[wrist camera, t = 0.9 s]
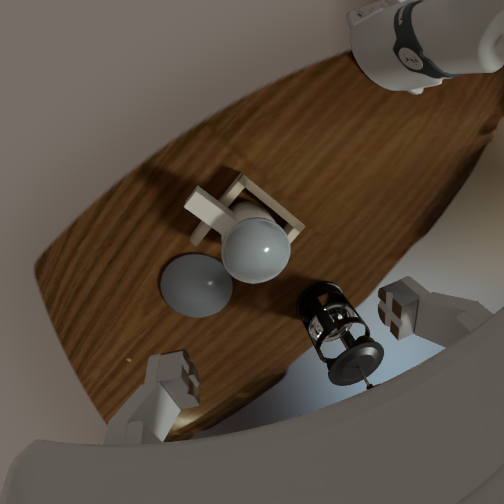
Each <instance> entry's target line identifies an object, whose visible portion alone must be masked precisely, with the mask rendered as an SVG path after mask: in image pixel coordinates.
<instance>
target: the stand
mask: <svg viewBox="0 0 504 504" xmlns="http://www.w3.org/2000/svg"><path fill="white" fill-rule="evenodd" d="M244 187H245V188H246V189H248V190H249V191H250V192H251V193H253V194H254V195H255V196H256V197H258V198H259V199H260V200H261V201H263V202H264V203H265V204H266V205H268V206H269V207H270V208H271V209H272V210H274V211H275V212H276V213H277V214H278V215H280V216H281V217H282V218H283V219H284V220H286V221H287V222H288V223H287V224H286V226H285V227H284V228H283V230H284V232H285V233H286V235H287V237H288V239H289V242H290V243H291V242H292V241H293V240H294V239H295V238H296V236H297V235H298V234H299V233H300V232H301V231H302V230H303V229H304V227H305V226H304V225H303V224H302V223H301V222H300V221H299V220H298V219H297V218H296V217H295V216H294V215H292V214H291V213H290V212H289V211H288V210H287V209H285V208H284V207H283V206H282V205H281V204H279V203H278V202H277V201H276V200H275V199H274V198H272V197H271V196H270V195H269V194H268V193H266V192H265V191H264V190H263V189H261V188H260V187H259V186H258V185H257V184H255V183H254V182H253V181H252V180H250V179H249V178H248V177H247V176H245V175H244V174H243V173H242V172H241V173H240V174H239V176H238V177H237V178H236V179H235V180H234V182H233V183H232V184H231V185H230V186H229V188H228V189H227V190H226V191H225V192H224V194H223V195H222V196H221V197H220V199H219V200H218V201H219V202H220V203H222V204H223V205H224V206H226V207H227V208H228V207H229V205H230V204H231V203H232V202H233V201H234V199H235V198H236V197H237V196H238V195H239V193H240V192H241V191H242V190H243V189H244ZM211 228H212V227H211V226H209V225H208V224H206V223H205V222H204V221H201V222H200V224H199V225H198V226H197V228H196V229H195V230H194V231H193V233H192V234H191V239H190V242H191V243H193V244H194V245H196V246H197V245H198V244H199V243H200V241H201V240H202V239H203V238H204V236H205V235H206V234H207V233H208V231H209V230H210V229H211ZM252 284H254V283H252Z"/></svg>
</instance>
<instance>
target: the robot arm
mask: <svg viewBox="0 0 504 504" xmlns="http://www.w3.org/2000/svg"><path fill="white" fill-rule="evenodd" d="M357 14H358V15H359V16H360V17H359V16H358V15H357ZM346 17H347V21H348V23H349V26H350V28H351V48H352V52H353V54H354V57H355V59H356V61H357V63H358V65H359V66H360V68H361V69H362V70H363V72H364V73H365V74H366V75H367V76H368V77H369V78H370V79H371V80H372V81H373V82H375V83H376V84H378V85H379V86H381V87H383V88H386V89H389V90H394V91H400V90H405V91H408V92H410V93H412V94H415V95H417V94H421V93H422V91H423V89H424V88H425V87H430V86H435V85H439V84H441V83H442V80H443V79H449V78H453V77H457V76H459V75H461V74H464V73H492V72H495V71H497V70H498V69H500V68H501V67H502V66H503V65H504V0H425V1H417V0H407V1H406V0H380V1H377V2H375V3H371V4H369V5H366V6H363V7H361V8H359V9H356V10H353V11H351V12H349V13H347V16H346ZM378 297H379V298H380V299H381V301H380V302H379V304H378V313H379V317H380V319H381V321H382V322H383V323H384V325H387V326H389V327H390V332H391V333H392V334H393V335H394V336H395V338H396V339H397V340H401V339H402V338H405V337H407V336H409V335H411V334H413V333H414V334H415V335H417V336H420V337H422V338H425V339H427V340H429V341H432V342H434V343H436V344H439V345H441V346H444V347H446V348H445V349H444V350H442V351H441V352H439V353H438V354H436V355H434V356H433V357H431V358H429V359H427V360H426V361H424V362H422V363H420V364H419V365H417V366H415V367H413V368H411V369H409V370H407V371H406V372H404V373H402V374H400V375H398V376H396V377H394V378H392V379H390V380H388V381H386V382H384V383H382V384H379V385H377V386H375V387H373V388H371V389H368V390H367V391H364V392H362V393H359V394H357V395H355V396H352V397H350V398H347V399H345V400H342V401H340V402H337V403H334V404H332V405H329V406H326V407H324V408H321V409H318V410H315V411H312V412H309V413H306V414H303V415H300V416H297V417H294V418H291V419H287V420H284V421H280V422H277V423H273V424H269V425H265V426H261V427H257V428H253V429H249V430H244V431H239V432H235V433H230V434H225V435H219V436H213V437H208V438H202V439H194V440H186V441H177V442H168V443H163V440H164V439H165V437H166V435H167V434H168V432H169V430H170V428H171V427H172V425H173V423H174V421H175V420H176V418H177V416H178V415H179V413H180V411H181V410H180V409H185V408H191V407H196V406H200V393H199V391H198V389H197V387H198V386H199V376H198V372H197V369H196V367H195V365H194V363H192V362H190V361H189V354H188V353H187V351H186V350H185V349H182V350H177V351H172V352H167V353H162V354H157V355H152V356H150V357H149V360H148V365H147V371H146V376H145V382H144V385H141V386H140V387H139V388H138V389H137V390H136V391H135V392H134V394H133V395H132V396H131V397H130V398H129V399H128V400H127V401H126V403H125V404H124V405H123V406H122V407H121V408H120V409H119V410H118V412H117V413H116V414H115V415H114V416H113V417H112V418H111V419H110V421H109V422H108V426H107V431H106V436H105V442H104V445H92V444H75V443H63V442H54V441H47V440H35V441H34V442H32V443H31V444H30V445H28V446H27V447H26V448H25V449H24V450H23V451H22V452H21V453H20V454H19V455H18V456H17V457H16V458H15V459H14V460H13V462H12V464H11V465H10V468H9V470H8V473H7V476H6V479H5V482H4V485H3V489H2V492H1V496H0V504H504V307H502V308H501V309H500V310H499V311H498V312H496V313H495V314H494V315H493V314H492V313H491V312H490V311H489V310H487V309H486V308H485V307H484V306H482V305H481V304H480V303H479V302H477V301H472V300H468V299H463V298H459V297H454V296H449V295H444V294H440V293H435V292H432V293H430V292H429V291H427V290H426V289H425V288H424V287H422V286H421V285H420V284H419V283H417V282H416V281H415V280H413V279H412V278H411V277H409V276H407V277H405V278H402V279H400V280H399V281H396V282H394V283H391V284H389V285H387V286H385V287H382V288H379V291H378Z"/></svg>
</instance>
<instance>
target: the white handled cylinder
mask: <svg viewBox="0 0 504 504" xmlns="http://www.w3.org/2000/svg"><path fill="white" fill-rule="evenodd" d="M184 208H186V209H187V210H189V211H190V212H191V213H193V214H194V215H195V216H197V217H198V218H200V219H201V220H202V221H204V222H205V223H206V224H208V225H209V226H211V227H212V228H213V229H215V230H216V231H218V232H219V233H220V234H221V241H222V246H221V256H222V262H223V264H224V266H225V268H226V270H227V271H228V272H229V273H230V274H231V275H232V276H233V277H234V278H236V279H238V280H240V281H242V282H246V283H261V282H265V281H268V280H270V279H272V278H274V277H275V276H277V275H278V274H279V273H280V272H281V271H282V270H283V269H284V267H285V266H286V264H287V262H288V260H289V256H290V242H289V239H288V237H287V235H286V233H285V232H284V230H283V229H282V228H281V227H280V226H279V225H278V224H277V223H276V222H275V221H274V219H273V218H272V217H271V215H270V214H269V212H268V211H267V210H266V209H265V208H264V207H263V206H262V205H260V204H258V203H255V202H252V201H243V202H239V203H236V204H234V205H232V206H231V207H230V208H227V207H226V206H224V205H223V204H222V203H220V202H219V201H218V200H216V199H215V198H214V197H212V196H211V195H210V194H208V193H207V192H206V191H204V190H203V189H202V188H200V187H199V186H198V185H197V187H196V188H195V189H194V191H193V192H192V193H191V194H190V196H189V197H188V198H187V200H186V202H185V205H184Z"/></svg>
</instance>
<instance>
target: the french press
mask: <svg viewBox="0 0 504 504" xmlns="http://www.w3.org/2000/svg"><path fill="white" fill-rule="evenodd" d="M326 293H336V295H337V302H334V303H330V304H327V305H325V306H322V304H321V303H320V301H319V300H318V298H317V297H319V296H321V295H323V294H326ZM309 304H310V306H311V308H312V310H313V312H314V313H315V314H314V315H313V316H312V318H310V317H308V316H307V315H306V314H305V313H304V312H305V310H306V308H307V306H308V305H309ZM348 304H349V305H350V306H349V305H348ZM296 310H297V314H298V316H299V318H300V319H301V320H302V322H303V324H304V326H305V328H306V330H307V332H308V334H309V336H310V338H311V341H312V343H313V345H314V347H315V349H316V351H317V353H318V355H319V357H320V359H321V360H322V361H323V362H325V363H327V368H328V370H329V372H328V377H329V379H330V381H331V382H332V383H333V384H335V385H339V386H346V385H351V384H354V383H357V382H359V381H361V380H363V379H364V380H365V382H366V384H367V387H366V388H367V390H368V389H371V388H373V387H375V386H377V385H375V386H373V385H372V384H369V382H368V381H367V379H366V377H368V376H369V375H370V374H372V373H373V372H374V371H375V370H376V369H377V368H378V366H379V365H380V363H381V361H382V359H383V356H384V349H383V347H382V346H381V345H380V344H379V343H378V342H375V341H374V340H373V339H372V338H371V337H370V331H369V328H368V326H367V325H366V324H365V322H364V321H363V320H362V318H361V317H360V316H359V314H358V313H357V312H356V310H355V309H354V308H353V306H352V305H351V304H350V302H349V301H348V300H347V298H346V297H345V296H344V294H343V293H342V290H341V289H340V287H339V286H337V285H336V284H334V283H332V282H319V283H316V284H313V285H311V286H310V287H308V288H307V289H306V290H305V291H304V292H303V293H302V294H301V295H300V297H299V299H298V301H297V305H296ZM354 312H355V313H356V315H357V316H358V317H354ZM353 323H361V324H363V325H365V328H366V329H365V330H366V331H365V336H364V335H363V336H360V337H359V338H358V339H357V340H356V341H355V339H354V338H353V336H352V335H351V333H350V332H349V329H350V327H351V326H352V324H353ZM338 338H340V339H341V341H342V343H343V344H344V346H345V348H346V349H347V350H345V351H344V352H343V353H341V354H340V355H339V356H338V357H337V358H333V359H330V358H325V357H324V356H323V354H322V352H321V350H320V346H321V344H322V342H329V341H333V340H335V339H338ZM316 340H317V342H316ZM378 385H379V384H378Z"/></svg>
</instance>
